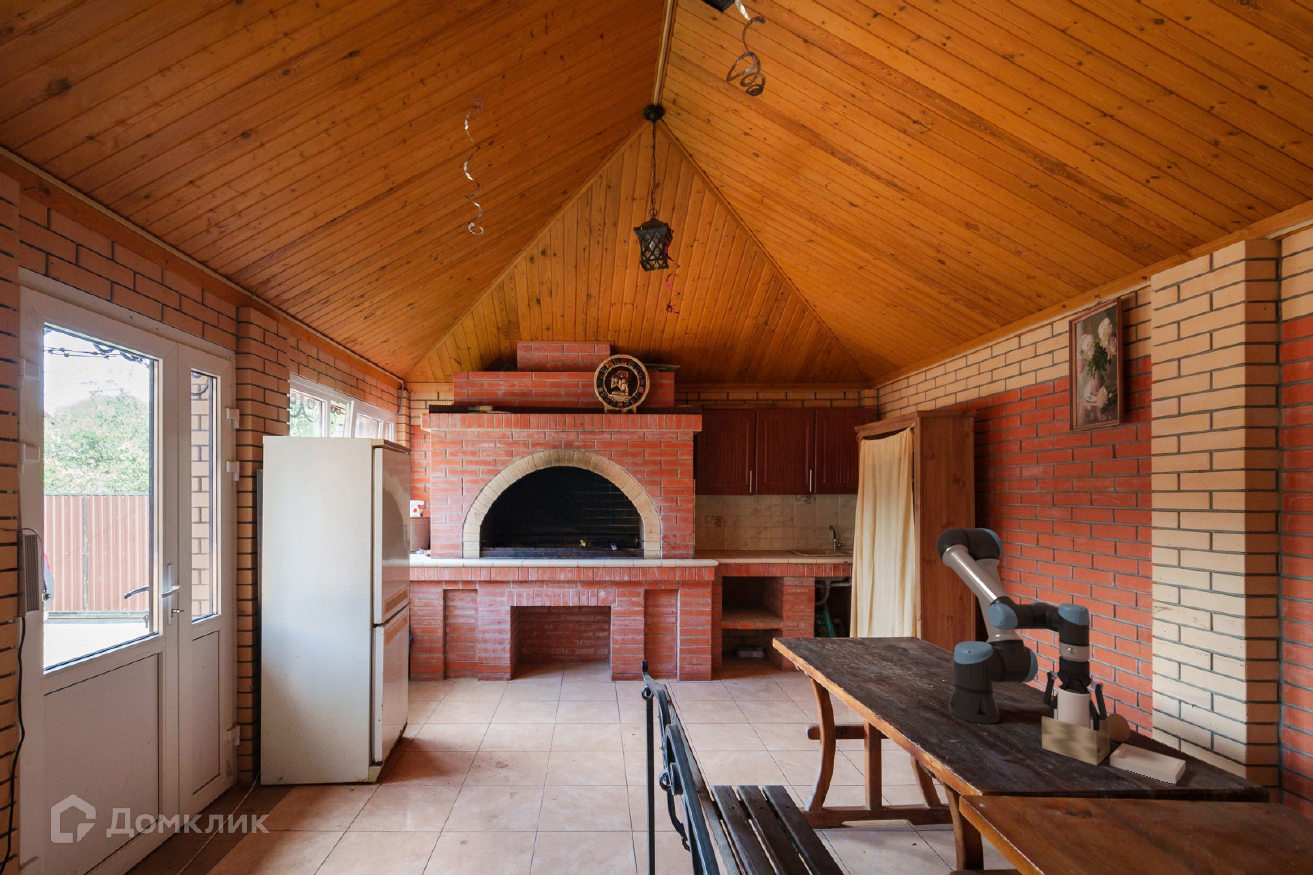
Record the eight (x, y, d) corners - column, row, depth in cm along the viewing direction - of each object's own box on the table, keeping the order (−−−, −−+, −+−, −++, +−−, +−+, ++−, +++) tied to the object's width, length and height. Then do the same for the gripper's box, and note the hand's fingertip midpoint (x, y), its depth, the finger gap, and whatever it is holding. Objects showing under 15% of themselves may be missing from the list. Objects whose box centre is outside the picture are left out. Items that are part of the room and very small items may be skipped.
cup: (1097, 752, 172) (1097, 695, 173) (1065, 749, 173) (1065, 692, 174) (1083, 740, 180) (1083, 686, 181) (1052, 737, 181) (1052, 683, 182)
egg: (1125, 747, 179) (1124, 719, 180) (1100, 739, 185) (1099, 711, 185) (1134, 743, 182) (1133, 715, 183) (1109, 735, 188) (1109, 708, 189)
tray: (1110, 765, 167) (1109, 755, 167) (1122, 751, 176) (1122, 742, 176) (1175, 785, 156) (1175, 775, 157) (1185, 770, 165) (1185, 760, 166)
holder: (1042, 747, 177) (1041, 716, 178) (1056, 736, 186) (1056, 706, 186) (1096, 765, 167) (1096, 732, 167) (1109, 752, 175) (1109, 720, 176)
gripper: (1029, 651, 184) (1030, 726, 182) (1114, 669, 168) (1115, 753, 166) (1038, 647, 188) (1038, 720, 187) (1121, 664, 172) (1121, 745, 171)
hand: (1074, 735), depth 177 cm, fingers closed on cup, 8 cm apart
